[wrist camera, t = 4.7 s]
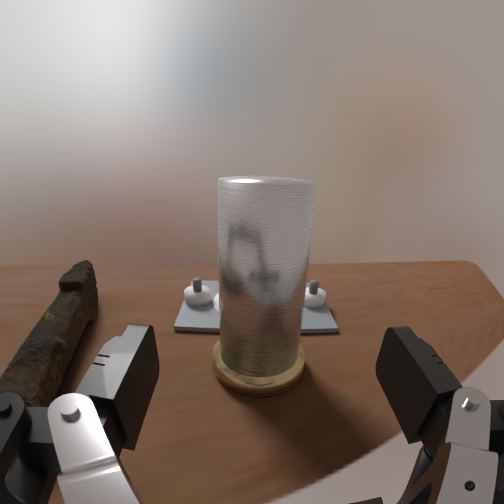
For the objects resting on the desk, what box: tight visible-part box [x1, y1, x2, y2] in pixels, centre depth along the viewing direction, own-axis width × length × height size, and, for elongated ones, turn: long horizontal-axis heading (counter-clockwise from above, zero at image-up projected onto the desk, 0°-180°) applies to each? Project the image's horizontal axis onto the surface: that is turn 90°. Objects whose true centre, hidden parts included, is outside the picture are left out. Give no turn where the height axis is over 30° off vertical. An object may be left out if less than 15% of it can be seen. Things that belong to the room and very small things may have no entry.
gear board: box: [174, 278, 338, 333], centre depth 27 cm, size 13×9×2 cm
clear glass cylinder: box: [213, 176, 315, 397], centre depth 17 cm, size 6×6×12 cm
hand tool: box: [0, 260, 98, 407], centre depth 18 cm, size 19×4×5 cm, turn 9°
